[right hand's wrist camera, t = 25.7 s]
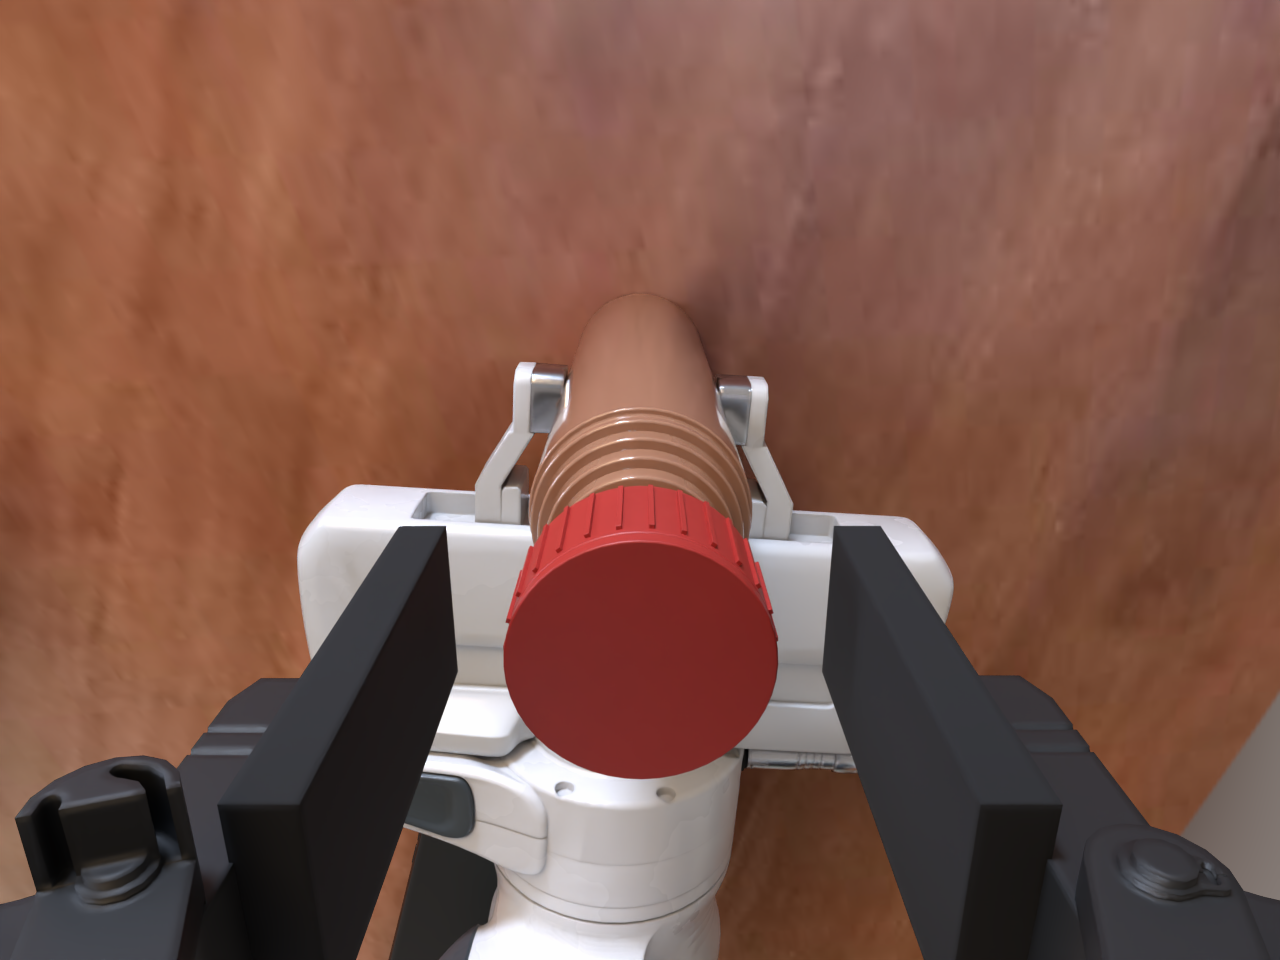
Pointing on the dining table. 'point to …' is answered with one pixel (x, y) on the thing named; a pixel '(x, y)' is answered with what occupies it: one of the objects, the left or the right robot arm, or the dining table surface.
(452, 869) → the smartphone
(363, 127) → the dining table surface
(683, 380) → the bottle
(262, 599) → the dining table surface
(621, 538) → the cap
